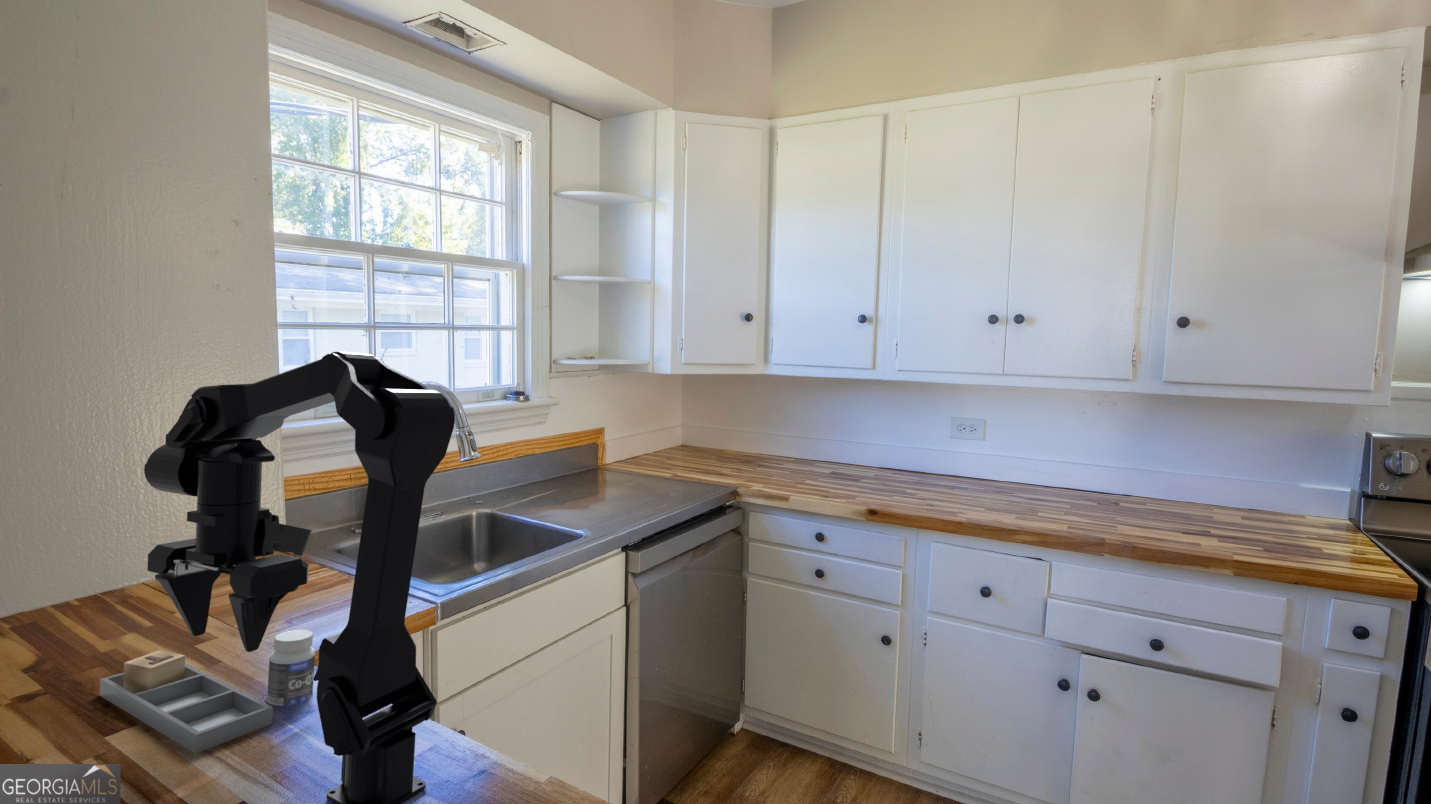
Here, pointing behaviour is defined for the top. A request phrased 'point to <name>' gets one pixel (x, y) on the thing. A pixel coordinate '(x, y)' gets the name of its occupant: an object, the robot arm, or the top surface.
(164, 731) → the bay dish
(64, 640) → the top surface
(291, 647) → the pill bottle
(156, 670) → the letter cube
